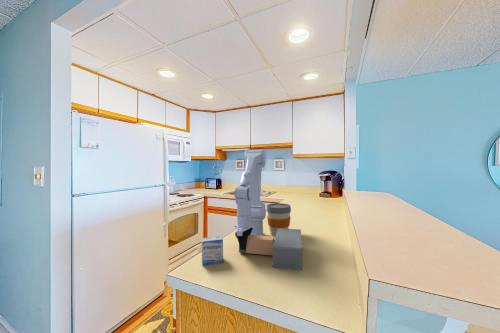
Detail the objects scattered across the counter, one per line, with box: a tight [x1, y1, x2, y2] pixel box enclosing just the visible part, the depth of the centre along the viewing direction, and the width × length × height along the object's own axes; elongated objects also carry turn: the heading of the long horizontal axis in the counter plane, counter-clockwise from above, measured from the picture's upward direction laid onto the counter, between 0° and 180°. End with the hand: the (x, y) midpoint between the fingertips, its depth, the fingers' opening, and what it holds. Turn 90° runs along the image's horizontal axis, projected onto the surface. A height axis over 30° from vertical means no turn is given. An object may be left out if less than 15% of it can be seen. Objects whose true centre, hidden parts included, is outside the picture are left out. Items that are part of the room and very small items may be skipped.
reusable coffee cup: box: [266, 202, 292, 238], centre depth 104 cm, size 13×13×15 cm
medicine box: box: [200, 235, 224, 266], centre depth 76 cm, size 8×4×9 cm, turn 105°
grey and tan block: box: [238, 235, 275, 256], centre depth 83 cm, size 4×14×6 cm, turn 76°
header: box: [272, 228, 303, 271], centre depth 80 cm, size 20×10×8 cm, turn 166°
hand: (244, 247), depth 84 cm, fingers closed on grey and tan block, 4 cm apart
